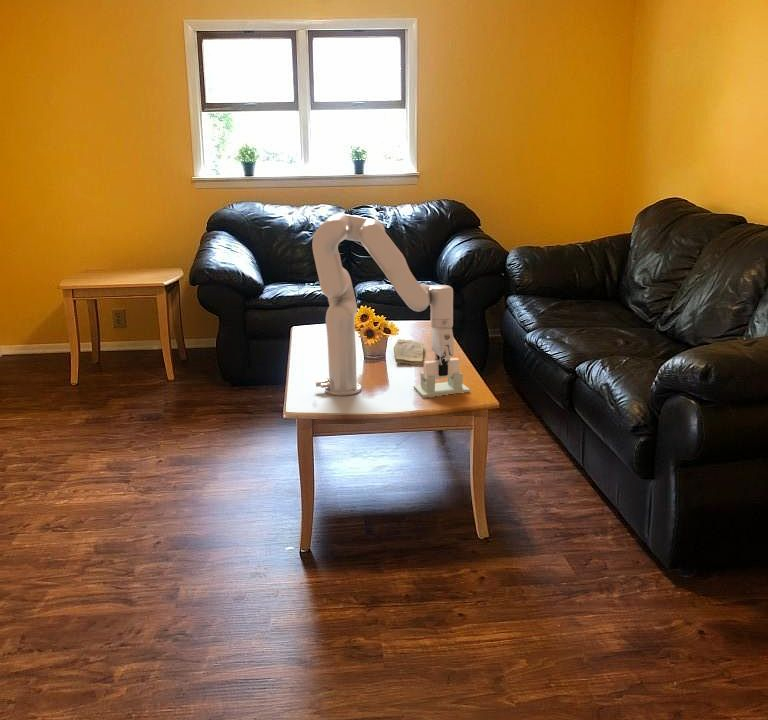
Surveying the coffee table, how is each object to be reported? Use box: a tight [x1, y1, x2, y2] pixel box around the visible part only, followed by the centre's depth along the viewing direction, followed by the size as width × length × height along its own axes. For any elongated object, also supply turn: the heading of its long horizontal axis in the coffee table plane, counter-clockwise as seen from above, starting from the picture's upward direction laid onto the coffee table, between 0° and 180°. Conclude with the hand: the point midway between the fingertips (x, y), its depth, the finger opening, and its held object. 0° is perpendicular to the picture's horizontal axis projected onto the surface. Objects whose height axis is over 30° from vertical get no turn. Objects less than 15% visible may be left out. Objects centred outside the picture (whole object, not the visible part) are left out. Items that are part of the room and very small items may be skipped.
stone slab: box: [393, 338, 425, 366], centre depth 305 cm, size 12×4×30 cm
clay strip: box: [423, 357, 460, 380], centre depth 260 cm, size 12×2×6 cm, turn 106°
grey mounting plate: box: [412, 371, 471, 399], centre depth 261 cm, size 17×10×6 cm, turn 106°
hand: (441, 373), depth 261 cm, fingers closed on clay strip, 2 cm apart
